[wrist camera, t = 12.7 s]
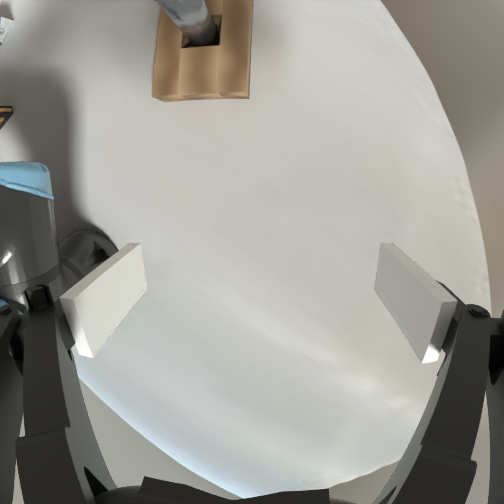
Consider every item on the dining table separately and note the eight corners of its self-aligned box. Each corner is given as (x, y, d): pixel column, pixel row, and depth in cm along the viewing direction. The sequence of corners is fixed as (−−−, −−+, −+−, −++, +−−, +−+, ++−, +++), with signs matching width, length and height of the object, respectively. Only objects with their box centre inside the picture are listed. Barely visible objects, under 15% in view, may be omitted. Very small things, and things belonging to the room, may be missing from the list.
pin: (191, 53, 32) (147, 3, 17) (193, 29, 30) (153, -26, 15) (220, 51, 31) (189, -4, 16) (221, 27, 30) (194, -33, 15)
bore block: (165, 102, 36) (151, 96, 31) (175, 1, 30) (164, -13, 25) (249, 98, 35) (246, 91, 30) (253, -5, 29) (251, -21, 24)
